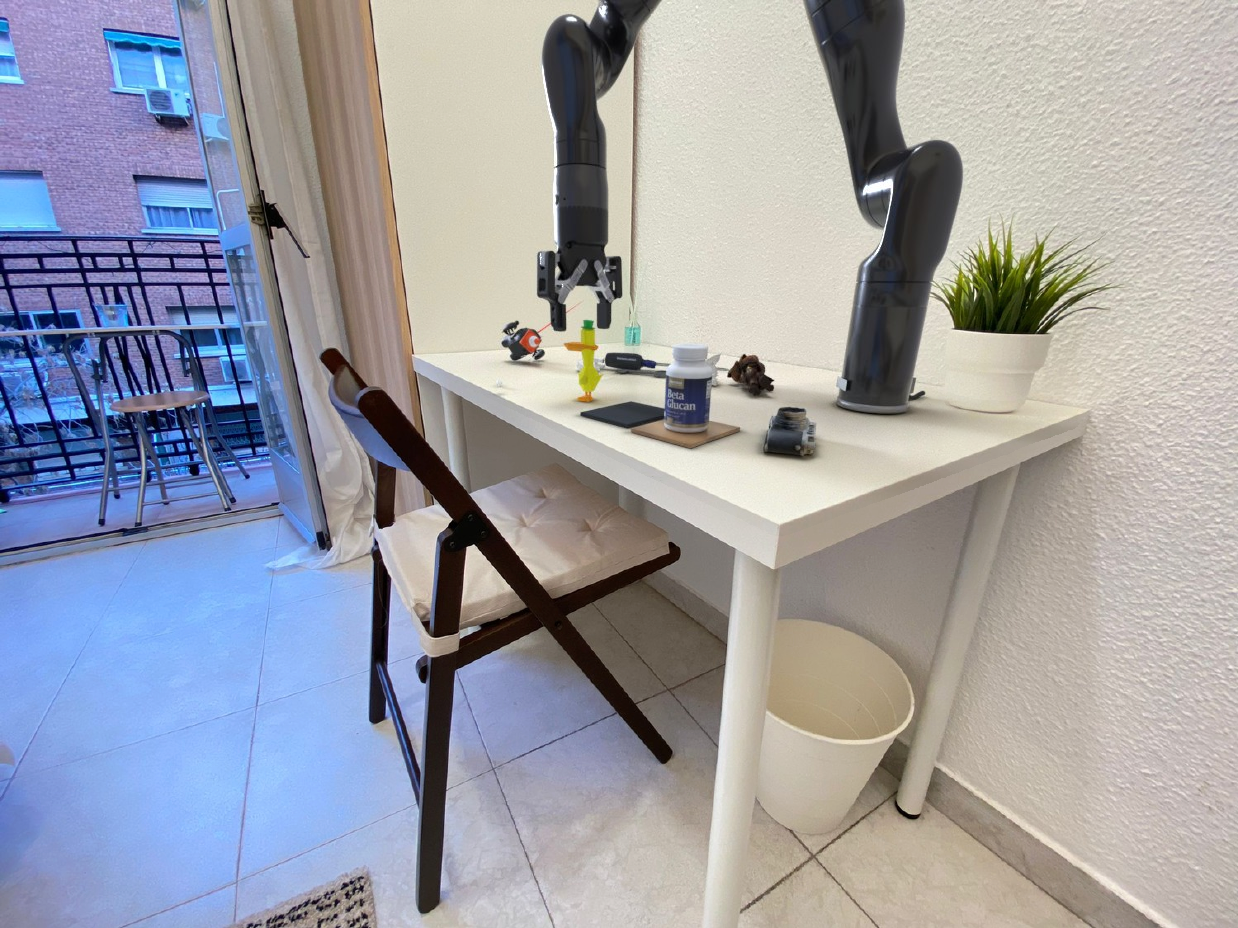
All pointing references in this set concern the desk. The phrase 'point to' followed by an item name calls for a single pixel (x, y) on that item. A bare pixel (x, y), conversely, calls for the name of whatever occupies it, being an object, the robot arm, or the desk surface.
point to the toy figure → (586, 360)
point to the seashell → (713, 367)
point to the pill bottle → (688, 389)
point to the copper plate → (685, 439)
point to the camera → (790, 432)
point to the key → (644, 372)
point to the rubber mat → (626, 414)
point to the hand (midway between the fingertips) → (582, 330)
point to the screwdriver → (634, 362)
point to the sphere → (499, 383)
